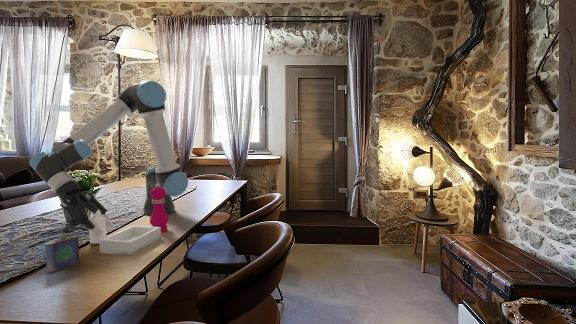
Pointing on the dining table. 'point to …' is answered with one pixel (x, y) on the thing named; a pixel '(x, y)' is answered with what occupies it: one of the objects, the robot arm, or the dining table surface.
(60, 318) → the dining table surface
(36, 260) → the dining table surface
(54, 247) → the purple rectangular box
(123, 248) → the tray
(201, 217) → the dining table surface
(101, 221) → the white pointed block
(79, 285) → the dining table surface
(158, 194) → the pepper mill
